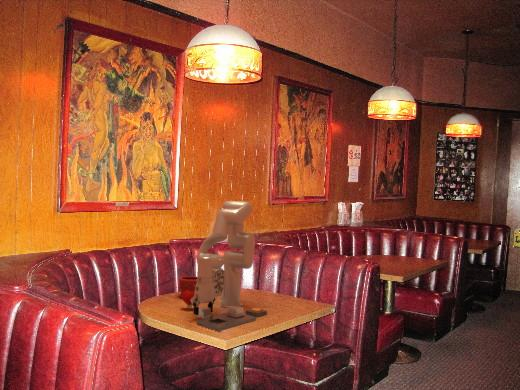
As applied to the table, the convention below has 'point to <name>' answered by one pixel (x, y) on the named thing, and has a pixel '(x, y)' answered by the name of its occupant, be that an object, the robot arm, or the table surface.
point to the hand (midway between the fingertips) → (203, 313)
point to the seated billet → (236, 312)
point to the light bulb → (188, 298)
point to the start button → (256, 310)
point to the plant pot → (187, 284)
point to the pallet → (224, 321)
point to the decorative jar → (218, 281)
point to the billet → (204, 312)
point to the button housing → (256, 313)
